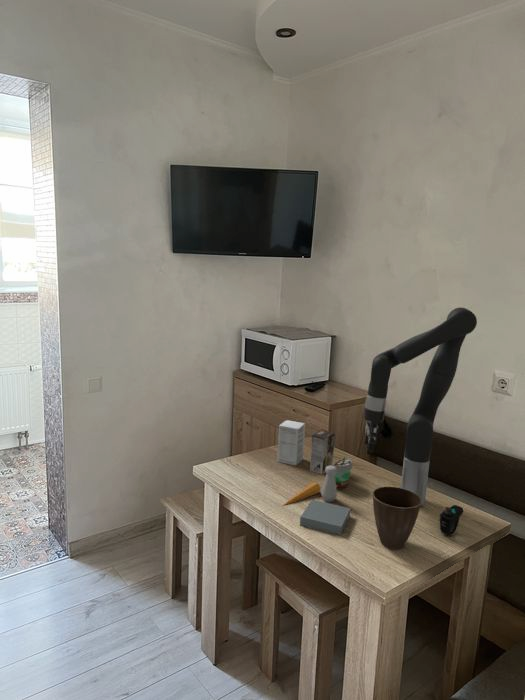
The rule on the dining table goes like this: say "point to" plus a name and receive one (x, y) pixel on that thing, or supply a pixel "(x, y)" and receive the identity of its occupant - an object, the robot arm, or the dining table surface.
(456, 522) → the controller
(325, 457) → the coffee box
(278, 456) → the supplement box
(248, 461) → the dining table surface
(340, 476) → the food container
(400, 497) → the plant pot
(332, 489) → the salt shaker
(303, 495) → the carrot
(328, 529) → the base plinth
